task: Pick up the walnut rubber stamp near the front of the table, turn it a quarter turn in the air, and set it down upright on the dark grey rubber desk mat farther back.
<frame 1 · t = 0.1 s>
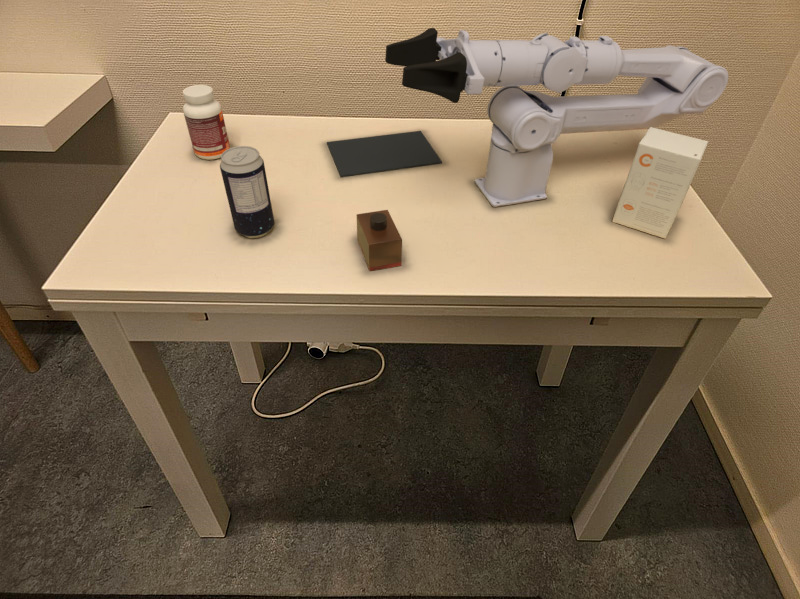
hand: (394, 65, 67), 22 cm above the table, tool horizontal, fingers open, 7 cm apart
desk mat: (383, 153, 95), on the table
pill bottle: (213, 153, 94), on the table
beverage can: (255, 230, 78), on the table
small box: (642, 221, 81), on the table
stamp: (378, 252, 74), on the table
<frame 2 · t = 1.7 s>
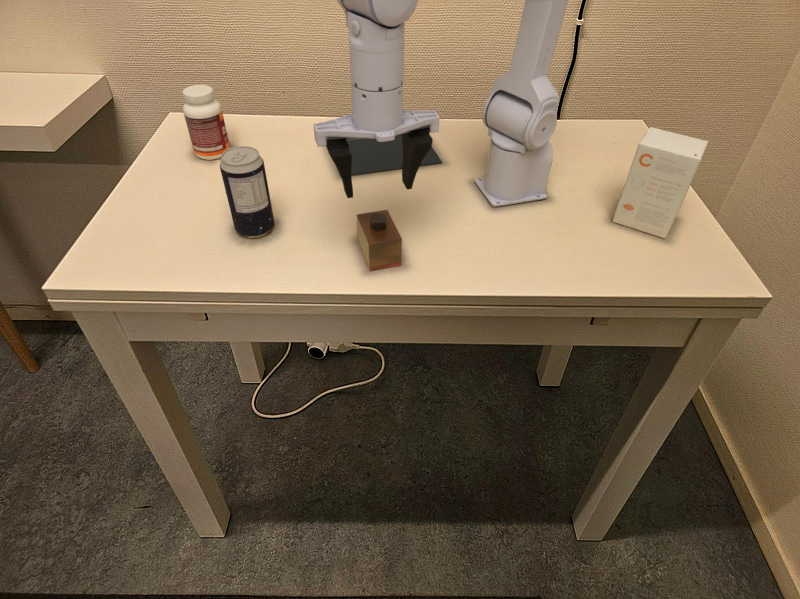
hand: (378, 189, 67), 10 cm above the table, tool pointing down, fingers open, 7 cm apart
nothing on the table moved.
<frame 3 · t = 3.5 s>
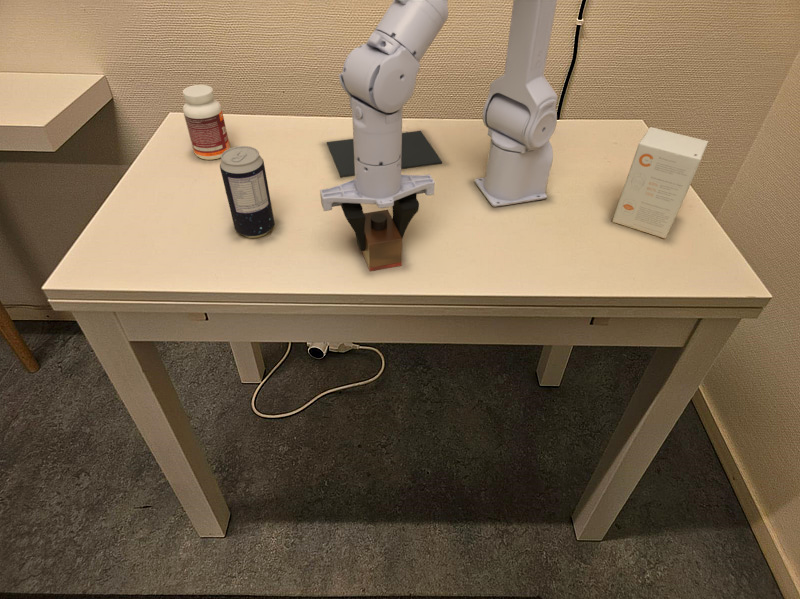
hand: (378, 243, 73), 2 cm above the table, tool pointing down, fingers closed on stamp, 4 cm apart
stamp: (379, 252, 74), on the table, touching gripper
everything else where it was.
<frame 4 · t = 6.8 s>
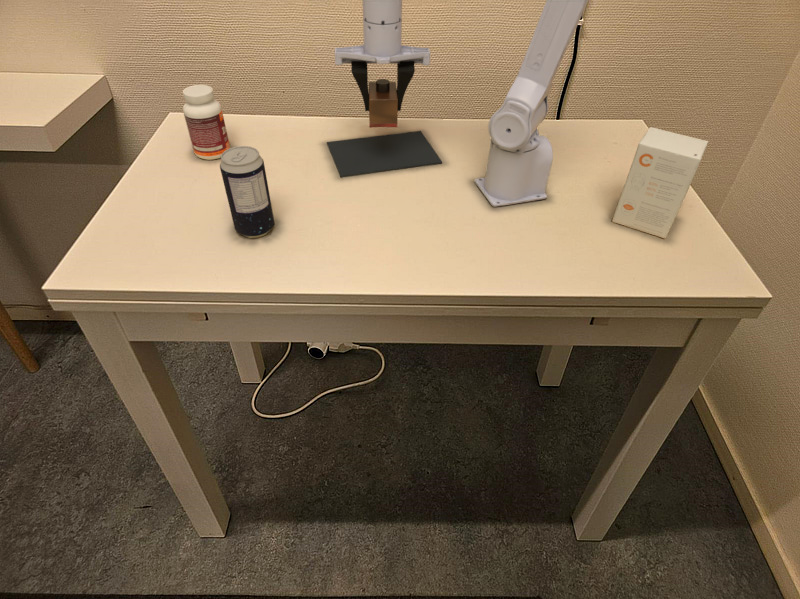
hand: (382, 108, 88), 9 cm above the table, tool pointing down, fingers closed on stamp, 4 cm apart
stamp: (382, 117, 89), point 7 cm above the table, touching gripper
everything else where it was.
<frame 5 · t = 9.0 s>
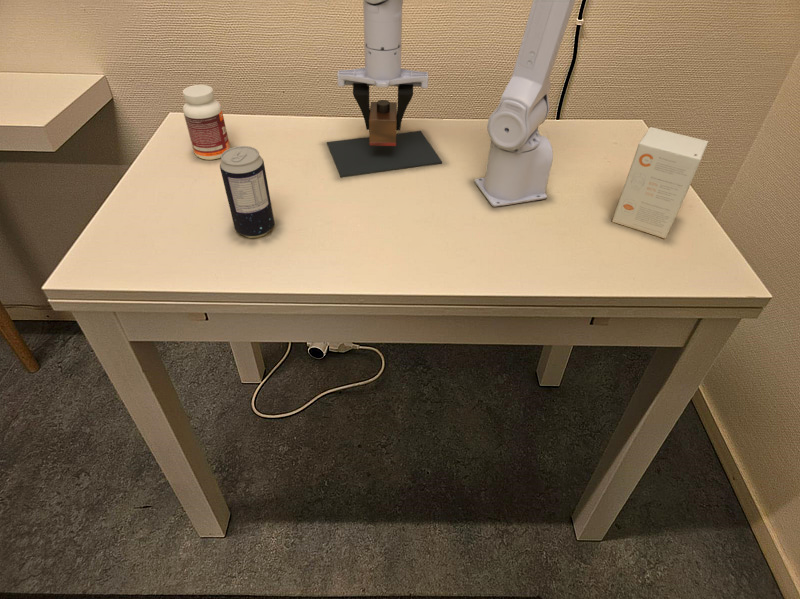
hand: (383, 127, 91), 5 cm above the table, tool pointing down, fingers closed on stamp, 4 cm apart
stamp: (383, 136, 92), point 3 cm above the table, touching gripper
everything else where it was.
when the fingers open (2 cm above the table, at t = 10.4 s): stamp stays where it is, resting on desk mat.
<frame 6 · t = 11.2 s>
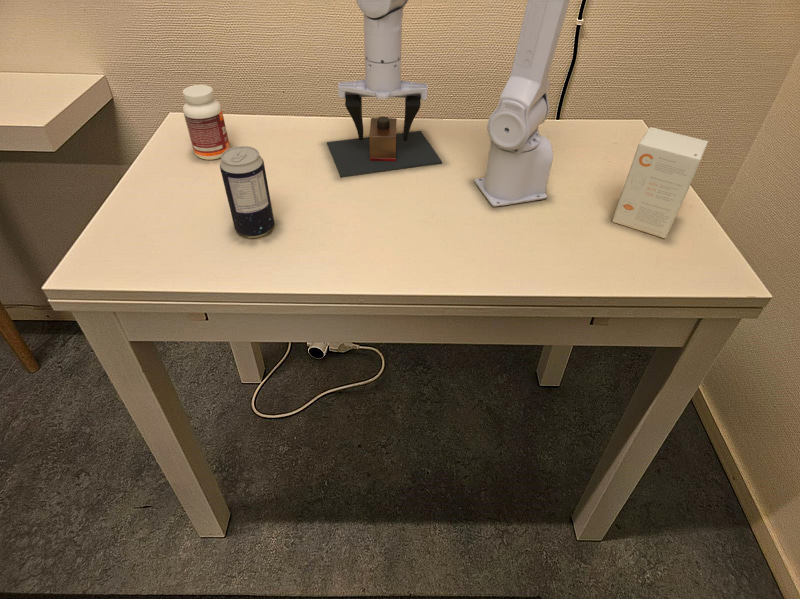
hand: (383, 137, 93), 3 cm above the table, tool pointing down, fingers open, 7 cm apart
stamp: (383, 151, 94), resting on desk mat
everything else where it was.
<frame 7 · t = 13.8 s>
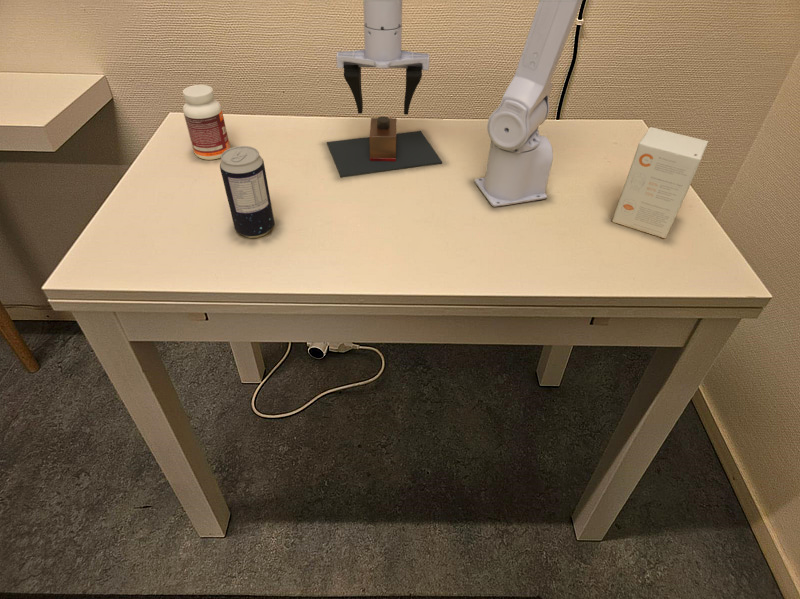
hand: (383, 111, 89), 8 cm above the table, tool pointing down, fingers open, 7 cm apart
nothing on the table moved.
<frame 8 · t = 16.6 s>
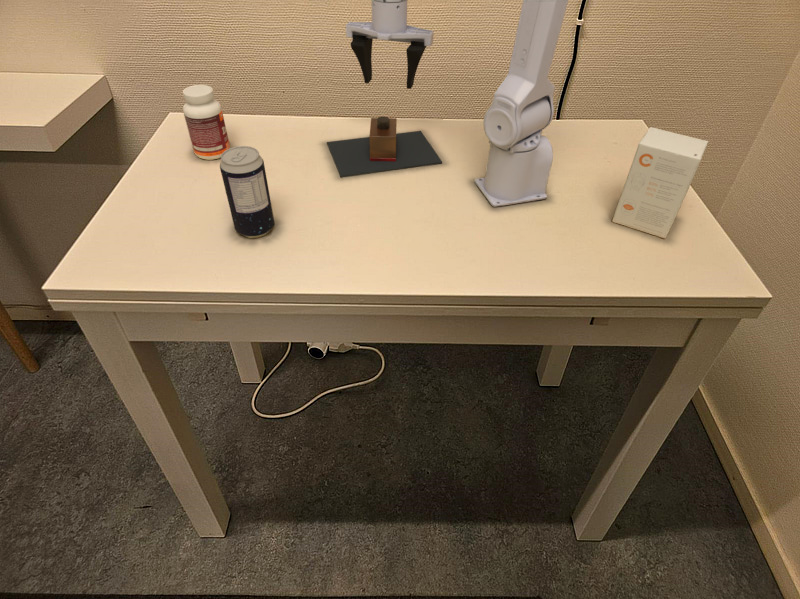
hand: (389, 83, 94), 9 cm above the table, tool pointing down, fingers open, 7 cm apart
nothing on the table moved.
at the end: stamp inside the target area on the desk mat (0.0 cm from its centre), point 0.4 cm above the desk mat's base; stamp tilted 0°; the gripper is holding nothing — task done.
